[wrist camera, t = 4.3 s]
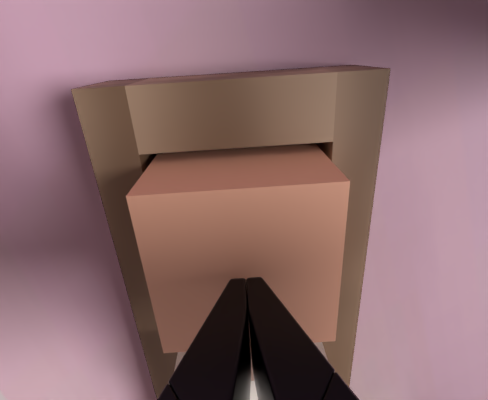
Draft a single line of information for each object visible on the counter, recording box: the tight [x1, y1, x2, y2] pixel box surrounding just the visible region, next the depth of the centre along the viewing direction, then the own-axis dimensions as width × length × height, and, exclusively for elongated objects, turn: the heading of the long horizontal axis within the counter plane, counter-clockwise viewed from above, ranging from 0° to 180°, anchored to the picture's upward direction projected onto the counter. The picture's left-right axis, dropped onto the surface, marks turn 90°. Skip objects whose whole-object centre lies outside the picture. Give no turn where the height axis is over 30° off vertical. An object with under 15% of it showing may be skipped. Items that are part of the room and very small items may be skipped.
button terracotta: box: [126, 144, 350, 353], centre depth 10 cm, size 5×5×4 cm
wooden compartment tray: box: [71, 65, 390, 399], centre depth 15 cm, size 9×24×3 cm, turn 3°
